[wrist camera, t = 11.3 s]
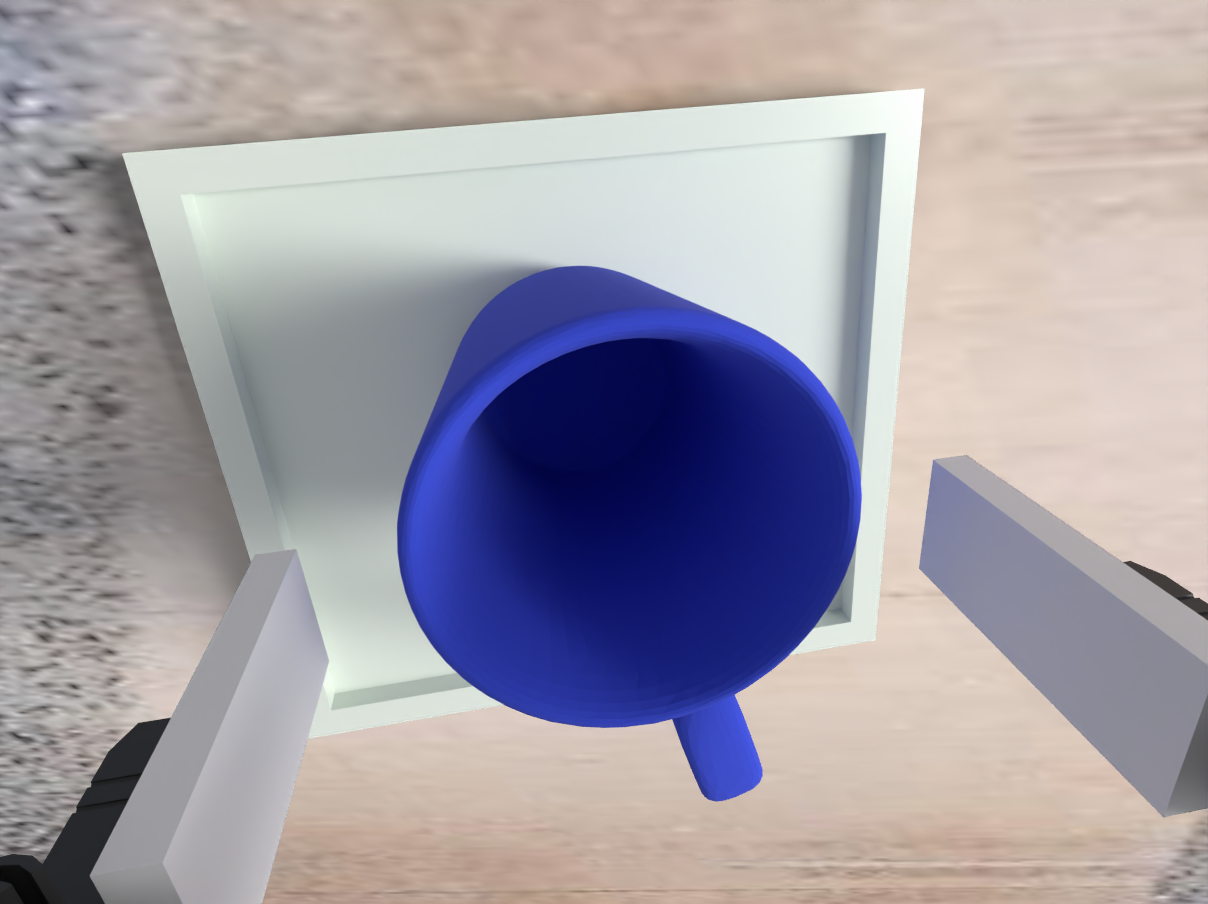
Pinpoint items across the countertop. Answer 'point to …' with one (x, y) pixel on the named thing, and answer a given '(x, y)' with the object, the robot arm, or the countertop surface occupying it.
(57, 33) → the countertop surface
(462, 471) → the mug
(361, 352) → the tray
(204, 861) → the robot arm
